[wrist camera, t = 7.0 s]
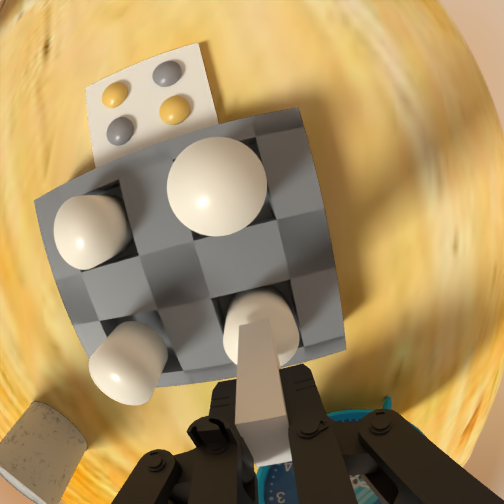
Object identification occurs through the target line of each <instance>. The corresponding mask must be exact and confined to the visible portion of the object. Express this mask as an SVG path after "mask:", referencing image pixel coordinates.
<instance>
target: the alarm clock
mask: <svg viewBox="0 0 504 504" xmlns="http://www.w3.org/2000/svg"><path fill="white" fill-rule="evenodd" d="M382 409H391V397H386V398H385V401H384V404H383V408H382ZM372 411H374V410H368V409H349V410H343V411H335V412H332V413H328V414H327V415H328V416H329V417H330V418H331V419H333V420H335V421H338V422H360V421H361V420H362V418H363V417H364V416H365V415H367V414H368V413H370V412H372ZM409 423H410V422H409ZM410 424H411V423H410ZM411 425H412V426H414V425H413V424H411ZM414 427H415V426H414ZM415 428H416V429H417V430H418V431H419V432H421V431H420V430H419V429H418V428H417V427H415ZM421 433H422V432H421ZM422 434H423V433H422ZM423 435H424V434H423ZM424 436H425V435H424ZM425 437H426V436H425ZM426 438H427V437H426ZM256 476H257V479H258V496H259V504H299V500H298V494H297V488H296V481H295V475H294V469H293V463H292V461H289V462H284V463H279V464H273V465H267V466H260V467H259V469H258V471H257V474H256ZM349 477H350V480H351V483H352V486H353V489H354V492H355V495H356V498H357V501H358V504H383V503H382V502H381V501H380V500H379V498H378V497H377V496H376V495H375V494H374V492H373V491H372V490H371V489H370V487H369V486H368V485H367V484H366V482H365V481H364V480H363V479H362V477H361V476H360V475H349Z"/></svg>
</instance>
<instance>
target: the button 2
mask: <svg viewBox="0 0 504 504" xmlns="http://www.w3.org/2000/svg"><path fill="white" fill-rule="evenodd" d="M167 359H168V350H167V347H166V344H165V342H164V340H163V339H162V337H161V336H160V335H159V334H158V333H157V332H156V331H155V330H154V329H153V328H151V327H150V326H148V325H146V324H143V323H141V322H136V321H127V322H123V323H121V324H119V325H118V326H117V327H116V328H115V329H114V330H113V331H112V333H111V334H110V335H109V336H108V337H107V338H106V339H105V340H104V342H103V343H102V344H101V345H100V346H99V347H98V348H97V349H96V351H95V352H94V353H93V354H92V355H91V357H90V359H89V372H90V375H91V377H92V379H93V381H94V382H95V384H96V385H97V386H98V388H99V389H100V390H101V391H102V392H103V393H105V394H106V395H107V396H109V397H110V398H112V399H113V400H115V401H117V402H120V403H123V404H126V405H141V404H144V403H146V402H147V401H148V400H149V399H150V398H151V396H152V394H153V391H154V389H155V387H156V384H157V382H158V380H159V378H160V375H161V373H162V371H163V369H164V366H165V364H166V362H167Z"/></svg>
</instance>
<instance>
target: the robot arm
mask: <svg viewBox="0 0 504 504" xmlns="http://www.w3.org/2000/svg"><path fill="white" fill-rule="evenodd" d="M211 400H212V401H211V405H210V407H211V408H210V412H209V416H205V417H201V418H200V419H198V420H196V421H194V422H193V423H192V424H191V425H190V426H189V428H188V430H187V433H188V435H189V436H190V438H191V439H192V441H193V442H194V444H195V445H196V448H195V449H193V450H190V451H188V452H184V453H181V454H177V455H174V456H173V455H172V454H171V453H170V452H168V451H166V450H161V449H157V450H153V451H150V452H148V453H146V454H145V455H144V456H143V457H142V458H141V459H140V460H139V462H138V463H137V465H136V466H135V468H134V470H133V471H132V473H131V474H130V476H129V477H128V479H127V480H126V482H125V483H124V485H123V486H122V488H121V489H120V491H119V492H118V494H117V496H116V497H115V499H114V500H113V502H112V503H111V504H259V496H258V479H257V476H256V474H255V472H254V463H255V465H256V467H260V466H267V465H273V464H279V463H284V462H289V461H292V463H293V469H294V475H295V481H296V488H297V494H298V500H299V504H358V501H357V498H356V495H355V492H354V489H353V486H352V483H351V480H350V477H349V475H360V476H361V477H362V479H363V480H364V481H365V482H366V484H367V485H368V486H369V487H370V489H371V490H372V491H373V492H374V494H375V495H376V496H377V497H378V498H379V500H380V501H381V502H382V503H383V504H504V500H502V499H501V498H500V497H498V496H497V495H496V494H495V493H493V492H492V491H491V490H490V489H488V488H487V487H486V486H484V485H483V484H482V483H481V482H480V481H478V480H477V479H476V478H474V477H473V476H472V475H471V474H469V473H468V472H467V471H466V470H465V469H464V468H462V467H461V466H460V465H459V464H457V463H456V462H455V461H454V460H453V459H451V458H450V457H449V456H448V455H447V454H445V453H444V452H443V451H442V450H441V449H439V448H438V447H437V446H436V445H435V444H433V443H432V442H431V441H430V440H429V439H428V438H426V437H425V436H424V435H423V434H422V433H421V432H419V431H418V430H417V429H416V428H415V427H414V426H412V425H411V424H410V423H409V422H408V421H407V420H405V419H404V418H403V417H402V416H401V415H400V414H399V413H397V412H395V411H393V410H390V409H378V410H374V411H372V412H370V413H368V414H367V415H365V416H364V417H363V418H362V420H361V421H360V422H338V421H335V420H333V419H331V418H330V417H329V416H328V415H327V414H326V412H325V410H324V407H323V404H322V401H321V398H320V395H319V392H318V390H317V387H316V384H315V381H314V378H313V375H312V372H311V370H310V369H309V368H308V367H307V366H305V365H304V364H299V365H295V366H291V367H287V368H283V369H281V366H280V361H279V357H278V353H277V349H276V346H275V342H274V338H273V334H272V330H271V326H270V322H269V319H266V320H262V321H257V322H253V323H249V324H244V325H240V326H239V338H238V360H237V379H234V380H228V381H222V382H218V384H217V385H216V387H215V388H214V389H213V392H212V398H211Z"/></svg>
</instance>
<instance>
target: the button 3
mask: <svg viewBox="0 0 504 504" xmlns="http://www.w3.org/2000/svg"><path fill="white" fill-rule="evenodd" d="M266 193H267V179H266V173H265V170H264V167H263V165H262V163H261V161H260V160H259V158H258V157H257V155H256V154H255V153H254V152H253V151H252V150H251V149H250V148H249V147H248V146H246V145H245V144H243V143H241V142H239V141H237V140H234V139H231V138H226V137H209V138H205V139H202V140H199V141H197V142H195V143H193V144H191V145H189V146H188V147H187V148H185V149H184V150H183V151H182V152H181V153H180V154H179V155H178V157H177V158H176V160H175V161H174V163H173V165H172V167H171V169H170V172H169V175H168V180H167V195H168V200H169V203H170V206H171V208H172V210H173V212H174V214H175V215H176V217H177V218H178V219H179V220H180V221H181V222H182V223H183V224H184V225H185V226H186V227H188V228H189V229H191V230H193V231H195V232H197V233H200V234H202V235H207V236H225V235H230V234H233V233H235V232H237V231H240V230H241V229H243V228H245V227H246V226H247V225H249V224H250V223H251V222H252V221H253V220H254V219H255V218H256V216H257V215H258V213H259V212H260V210H261V208H262V206H263V204H264V201H265V198H266Z"/></svg>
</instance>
